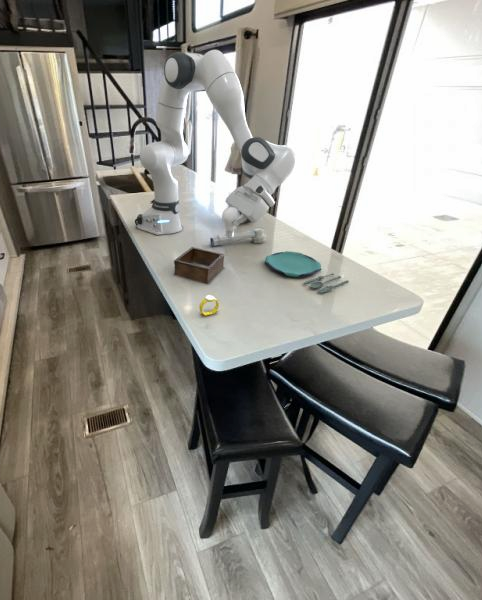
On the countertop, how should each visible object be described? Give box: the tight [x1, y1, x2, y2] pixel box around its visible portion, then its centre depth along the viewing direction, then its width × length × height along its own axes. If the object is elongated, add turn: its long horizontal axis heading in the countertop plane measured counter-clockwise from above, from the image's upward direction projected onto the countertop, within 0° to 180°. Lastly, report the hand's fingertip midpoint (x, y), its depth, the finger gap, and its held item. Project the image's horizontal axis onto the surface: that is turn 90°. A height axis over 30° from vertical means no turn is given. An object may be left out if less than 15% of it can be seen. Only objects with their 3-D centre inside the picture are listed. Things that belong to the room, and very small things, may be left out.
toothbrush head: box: [209, 227, 267, 248], centre depth 141 cm, size 5×7×25 cm
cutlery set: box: [264, 250, 350, 294], centre depth 119 cm, size 20×30×2 cm, turn 28°
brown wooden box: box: [173, 246, 225, 285], centre depth 118 cm, size 14×14×6 cm
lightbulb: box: [221, 206, 240, 238], centre depth 112 cm, size 6×6×11 cm
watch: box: [198, 294, 220, 316], centre depth 95 cm, size 6×3×6 cm, turn 114°
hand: (229, 221), depth 111 cm, fingers closed on lightbulb, 6 cm apart
